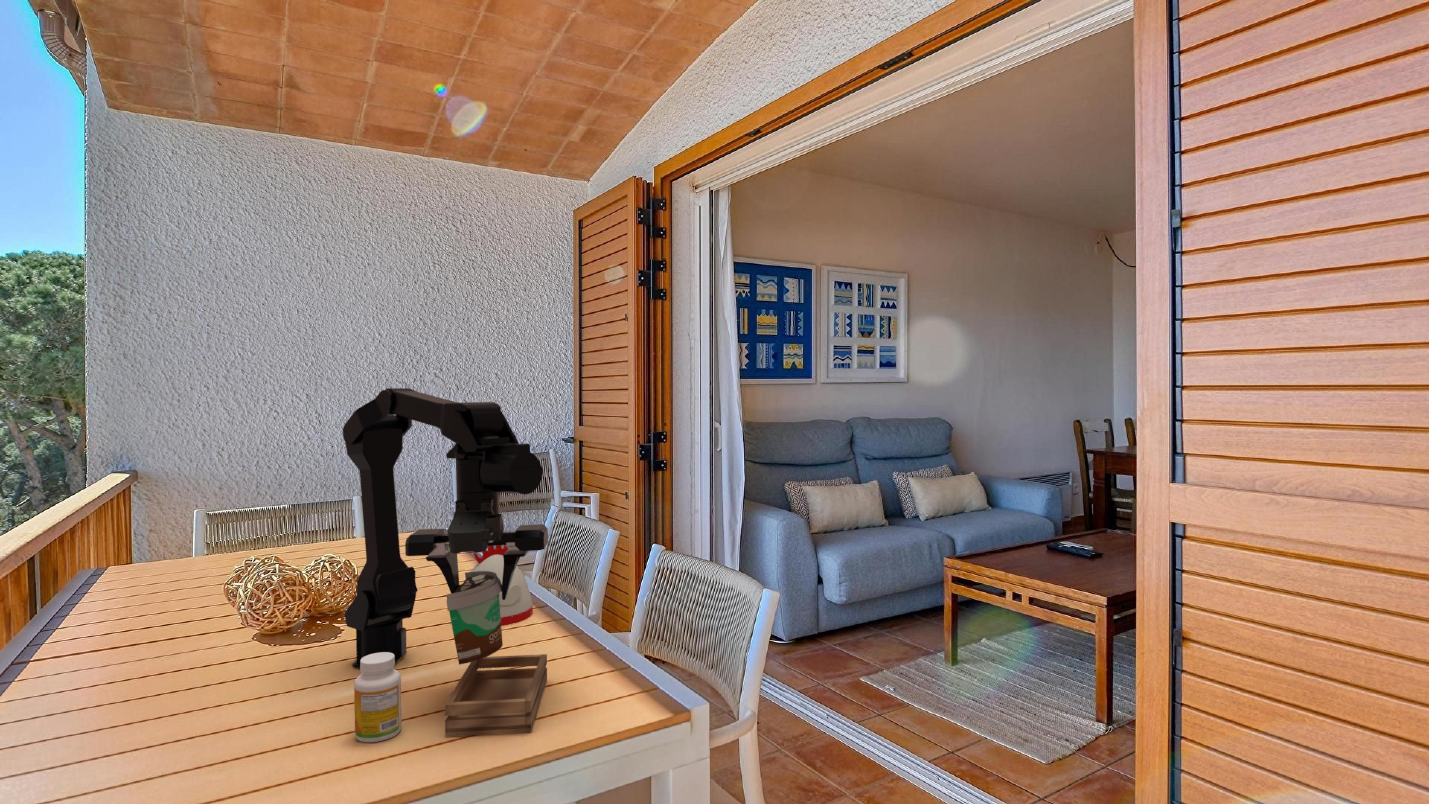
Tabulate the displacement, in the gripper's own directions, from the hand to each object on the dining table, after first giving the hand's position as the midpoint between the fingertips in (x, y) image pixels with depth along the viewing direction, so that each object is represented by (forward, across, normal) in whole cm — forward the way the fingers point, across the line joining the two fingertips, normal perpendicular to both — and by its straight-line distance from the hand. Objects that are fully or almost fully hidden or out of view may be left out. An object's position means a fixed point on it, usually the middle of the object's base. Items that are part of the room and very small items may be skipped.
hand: (480, 600), depth 106 cm
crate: (+14, +3, -4) cm, 15 cm away
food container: (+7, +1, 0) cm, 7 cm away
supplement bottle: (+14, -11, -10) cm, 20 cm away
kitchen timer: (+13, -5, +38) cm, 41 cm away
